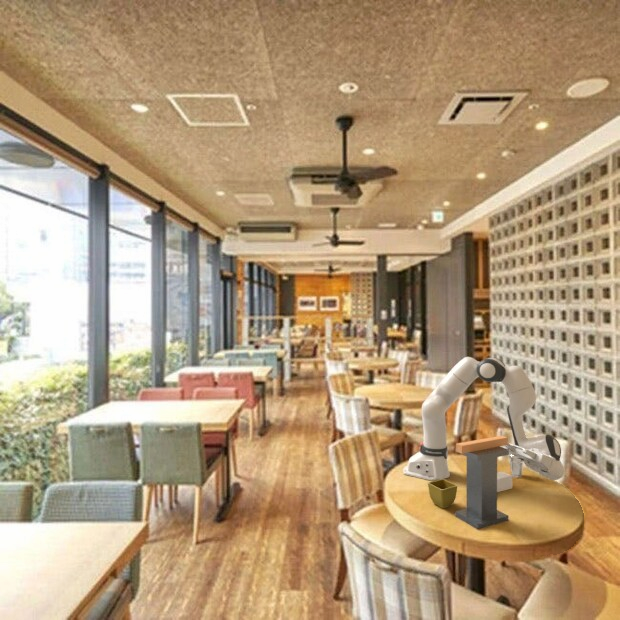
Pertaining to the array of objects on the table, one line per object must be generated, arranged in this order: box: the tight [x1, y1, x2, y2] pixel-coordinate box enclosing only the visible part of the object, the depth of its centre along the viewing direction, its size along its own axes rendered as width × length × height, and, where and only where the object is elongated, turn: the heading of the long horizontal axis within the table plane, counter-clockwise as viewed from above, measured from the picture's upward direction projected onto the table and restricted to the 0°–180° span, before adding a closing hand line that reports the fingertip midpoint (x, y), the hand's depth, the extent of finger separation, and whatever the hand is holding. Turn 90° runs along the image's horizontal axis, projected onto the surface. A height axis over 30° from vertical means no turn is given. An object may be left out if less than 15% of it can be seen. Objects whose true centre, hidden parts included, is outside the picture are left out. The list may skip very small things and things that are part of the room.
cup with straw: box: [507, 434, 528, 478], centre depth 230 cm, size 8×9×20 cm
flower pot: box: [427, 479, 458, 509], centre depth 198 cm, size 9×9×9 cm
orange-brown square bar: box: [455, 435, 509, 454], centre depth 185 cm, size 24×3×3 cm, turn 115°
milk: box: [497, 471, 513, 493], centre depth 213 cm, size 6×6×22 cm
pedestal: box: [454, 446, 510, 530], centre depth 185 cm, size 16×12×28 cm
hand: (514, 447), depth 193 cm, fingers open, 8 cm apart
